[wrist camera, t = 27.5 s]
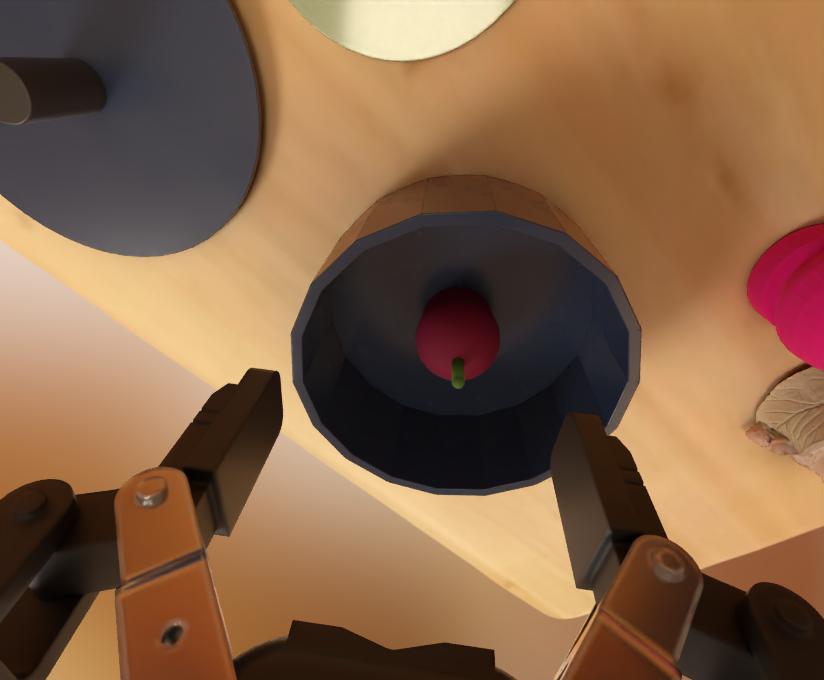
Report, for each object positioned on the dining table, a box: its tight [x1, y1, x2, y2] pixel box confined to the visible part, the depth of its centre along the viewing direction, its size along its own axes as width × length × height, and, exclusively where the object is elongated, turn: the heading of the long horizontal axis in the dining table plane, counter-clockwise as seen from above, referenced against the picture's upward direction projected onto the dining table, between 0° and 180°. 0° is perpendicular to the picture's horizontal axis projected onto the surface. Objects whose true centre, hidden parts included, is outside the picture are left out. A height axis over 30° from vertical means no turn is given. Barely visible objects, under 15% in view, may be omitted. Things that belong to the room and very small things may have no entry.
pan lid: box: [0, 0, 261, 257], centre depth 22 cm, size 19×19×6 cm
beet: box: [416, 288, 500, 389], centre depth 26 cm, size 5×5×7 cm
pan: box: [291, 175, 641, 496], centre depth 27 cm, size 18×18×8 cm
